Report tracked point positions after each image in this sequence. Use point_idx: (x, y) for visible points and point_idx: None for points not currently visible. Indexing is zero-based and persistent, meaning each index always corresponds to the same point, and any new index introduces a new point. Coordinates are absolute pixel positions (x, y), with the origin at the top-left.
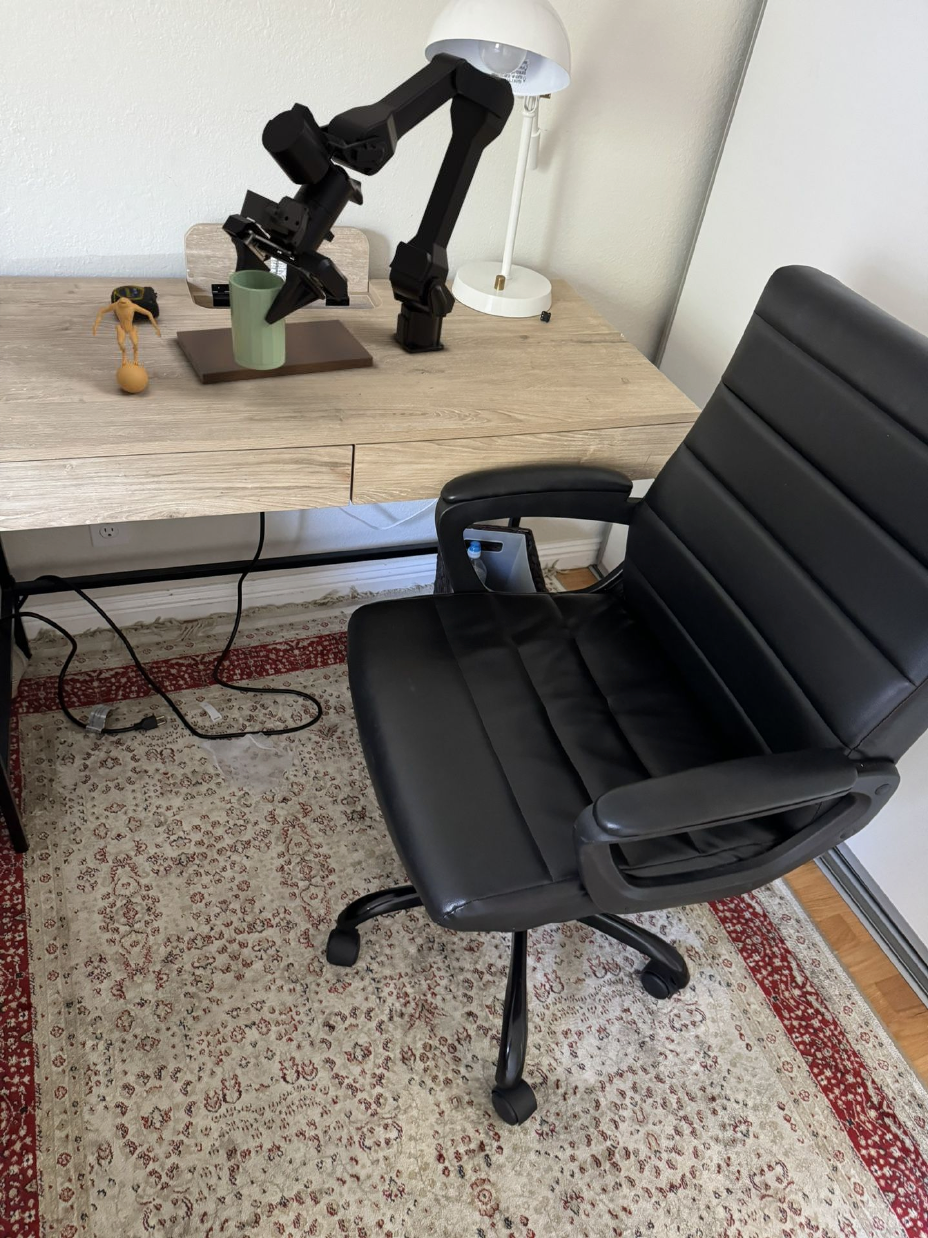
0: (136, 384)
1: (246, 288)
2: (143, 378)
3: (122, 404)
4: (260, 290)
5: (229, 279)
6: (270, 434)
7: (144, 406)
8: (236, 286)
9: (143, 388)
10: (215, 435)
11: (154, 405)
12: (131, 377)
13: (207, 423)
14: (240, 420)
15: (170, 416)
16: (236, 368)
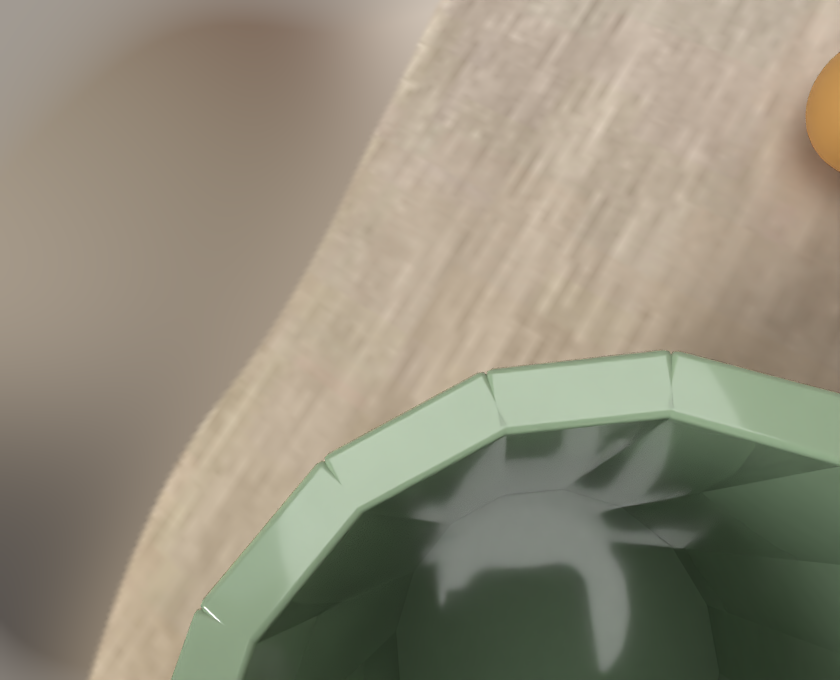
0: (810, 96)
1: (390, 452)
2: (828, 123)
3: (758, 60)
4: (206, 619)
5: None
6: (232, 437)
7: (702, 122)
8: (552, 364)
9: (814, 148)
10: (351, 244)
11: (692, 158)
12: (835, 63)
13: (449, 265)
14: (398, 395)
15: (575, 170)
16: None
